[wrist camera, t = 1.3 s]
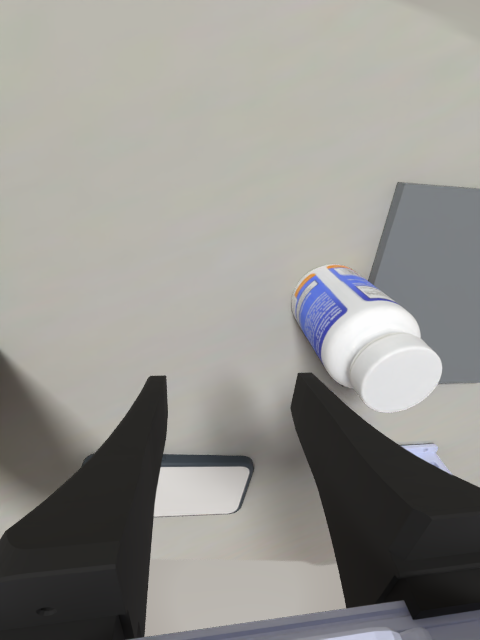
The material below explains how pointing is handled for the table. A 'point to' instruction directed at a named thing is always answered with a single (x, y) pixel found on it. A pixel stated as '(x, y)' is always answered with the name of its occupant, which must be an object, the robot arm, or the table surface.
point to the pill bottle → (365, 339)
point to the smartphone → (201, 484)
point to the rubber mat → (436, 270)
